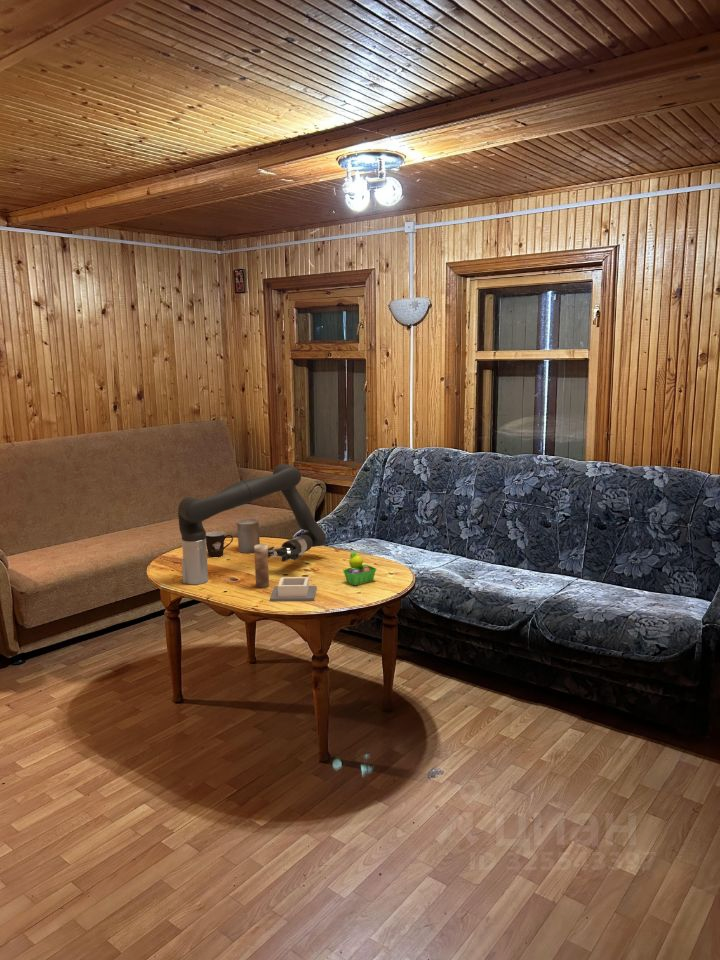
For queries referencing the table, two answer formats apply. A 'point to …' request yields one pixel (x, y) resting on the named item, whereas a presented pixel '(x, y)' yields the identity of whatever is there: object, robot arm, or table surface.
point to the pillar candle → (248, 535)
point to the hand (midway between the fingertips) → (273, 557)
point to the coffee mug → (216, 543)
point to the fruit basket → (358, 571)
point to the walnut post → (261, 566)
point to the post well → (293, 590)
